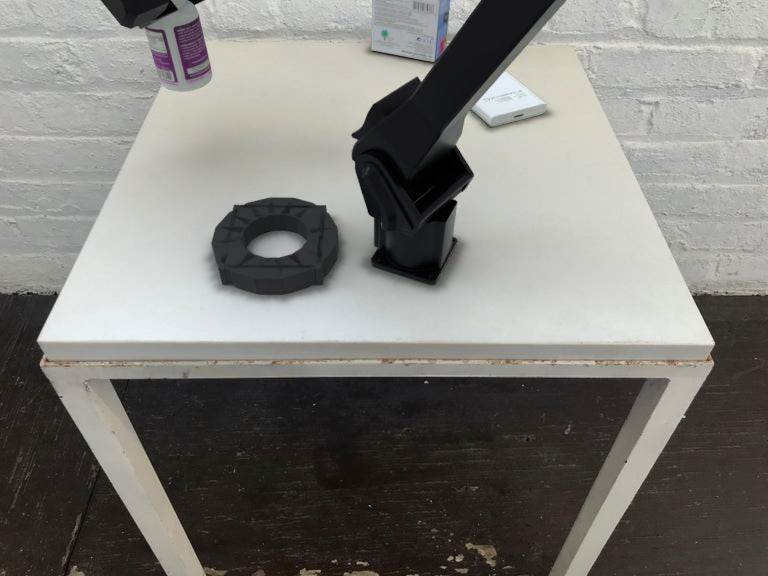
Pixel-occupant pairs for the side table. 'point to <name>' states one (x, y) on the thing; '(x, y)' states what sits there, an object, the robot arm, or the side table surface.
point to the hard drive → (508, 102)
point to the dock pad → (275, 271)
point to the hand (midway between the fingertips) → (160, 14)
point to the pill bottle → (180, 49)
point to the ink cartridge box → (410, 27)
